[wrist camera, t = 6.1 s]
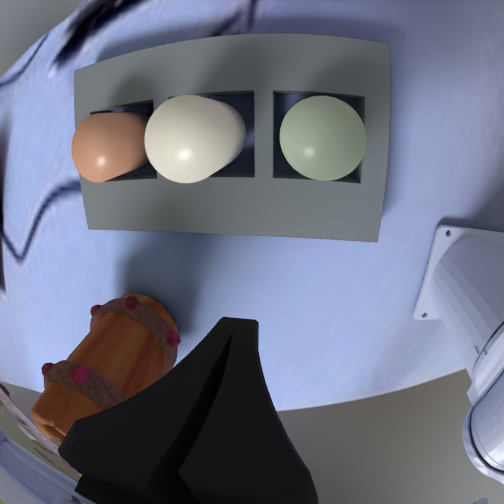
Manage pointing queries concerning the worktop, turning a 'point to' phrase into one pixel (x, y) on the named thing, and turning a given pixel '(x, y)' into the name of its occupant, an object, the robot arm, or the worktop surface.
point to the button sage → (323, 138)
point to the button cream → (193, 137)
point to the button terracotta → (110, 145)
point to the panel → (264, 178)
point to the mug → (108, 363)
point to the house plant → (1, 408)
